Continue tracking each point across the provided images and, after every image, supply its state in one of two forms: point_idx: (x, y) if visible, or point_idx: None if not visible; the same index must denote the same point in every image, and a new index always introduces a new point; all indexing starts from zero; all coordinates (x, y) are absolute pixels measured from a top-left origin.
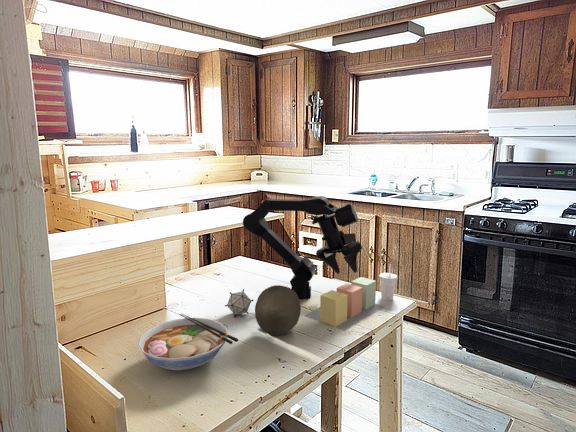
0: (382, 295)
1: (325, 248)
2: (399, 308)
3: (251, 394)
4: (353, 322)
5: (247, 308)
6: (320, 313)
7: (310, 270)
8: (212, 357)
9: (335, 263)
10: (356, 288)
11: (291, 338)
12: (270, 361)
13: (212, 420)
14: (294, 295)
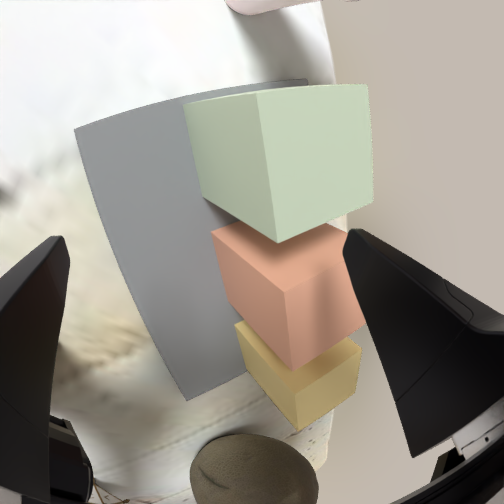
0: (258, 7)
1: None
2: (319, 28)
3: (320, 448)
4: None
5: (104, 494)
6: (260, 385)
7: (83, 486)
8: None
9: (17, 336)
10: None
11: (254, 422)
12: (288, 443)
13: (320, 464)
14: (314, 494)
